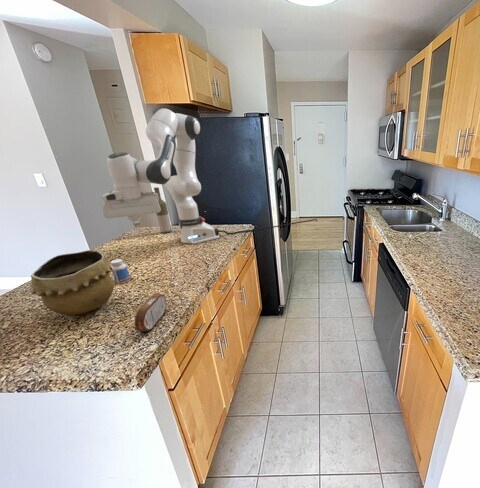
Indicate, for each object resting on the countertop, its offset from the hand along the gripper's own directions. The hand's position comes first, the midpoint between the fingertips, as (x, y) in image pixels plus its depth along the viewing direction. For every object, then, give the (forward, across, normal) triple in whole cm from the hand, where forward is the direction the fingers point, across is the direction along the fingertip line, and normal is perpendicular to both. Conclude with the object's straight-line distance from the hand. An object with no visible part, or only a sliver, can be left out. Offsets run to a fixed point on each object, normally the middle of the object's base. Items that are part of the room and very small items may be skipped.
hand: (137, 224), depth 115 cm
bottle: (+23, -11, -62) cm, 67 cm away
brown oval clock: (+23, 0, +45) cm, 50 cm away
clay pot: (+23, +20, +23) cm, 38 cm away
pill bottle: (+23, +10, +4) cm, 26 cm away
